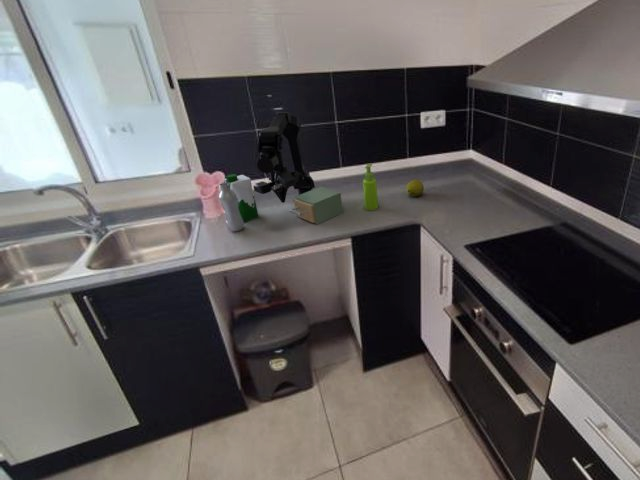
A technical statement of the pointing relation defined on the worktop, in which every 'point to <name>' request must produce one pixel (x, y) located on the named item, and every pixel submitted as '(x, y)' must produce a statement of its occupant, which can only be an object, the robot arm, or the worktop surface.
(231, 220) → the plastic bottle
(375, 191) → the soap dispenser
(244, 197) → the milk carton
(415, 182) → the lemon
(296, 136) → the robot arm
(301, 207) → the drawer
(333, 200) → the green drawer box
